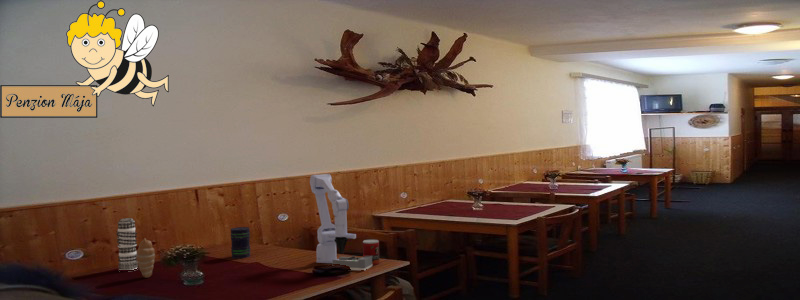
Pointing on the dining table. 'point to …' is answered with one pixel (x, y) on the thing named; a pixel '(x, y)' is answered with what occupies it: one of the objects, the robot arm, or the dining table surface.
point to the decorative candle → (127, 244)
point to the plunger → (353, 258)
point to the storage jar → (240, 242)
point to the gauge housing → (355, 262)
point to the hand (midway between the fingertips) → (341, 253)
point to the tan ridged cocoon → (146, 257)
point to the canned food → (371, 250)
